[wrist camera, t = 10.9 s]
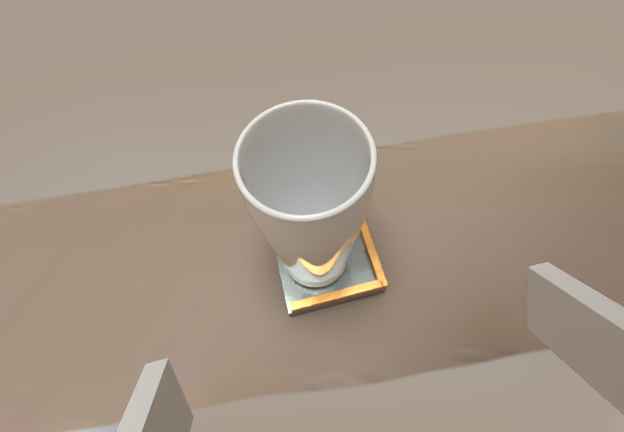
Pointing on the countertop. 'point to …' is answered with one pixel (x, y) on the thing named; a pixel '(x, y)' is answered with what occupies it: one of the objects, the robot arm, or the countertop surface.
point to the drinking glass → (307, 184)
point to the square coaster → (339, 280)
